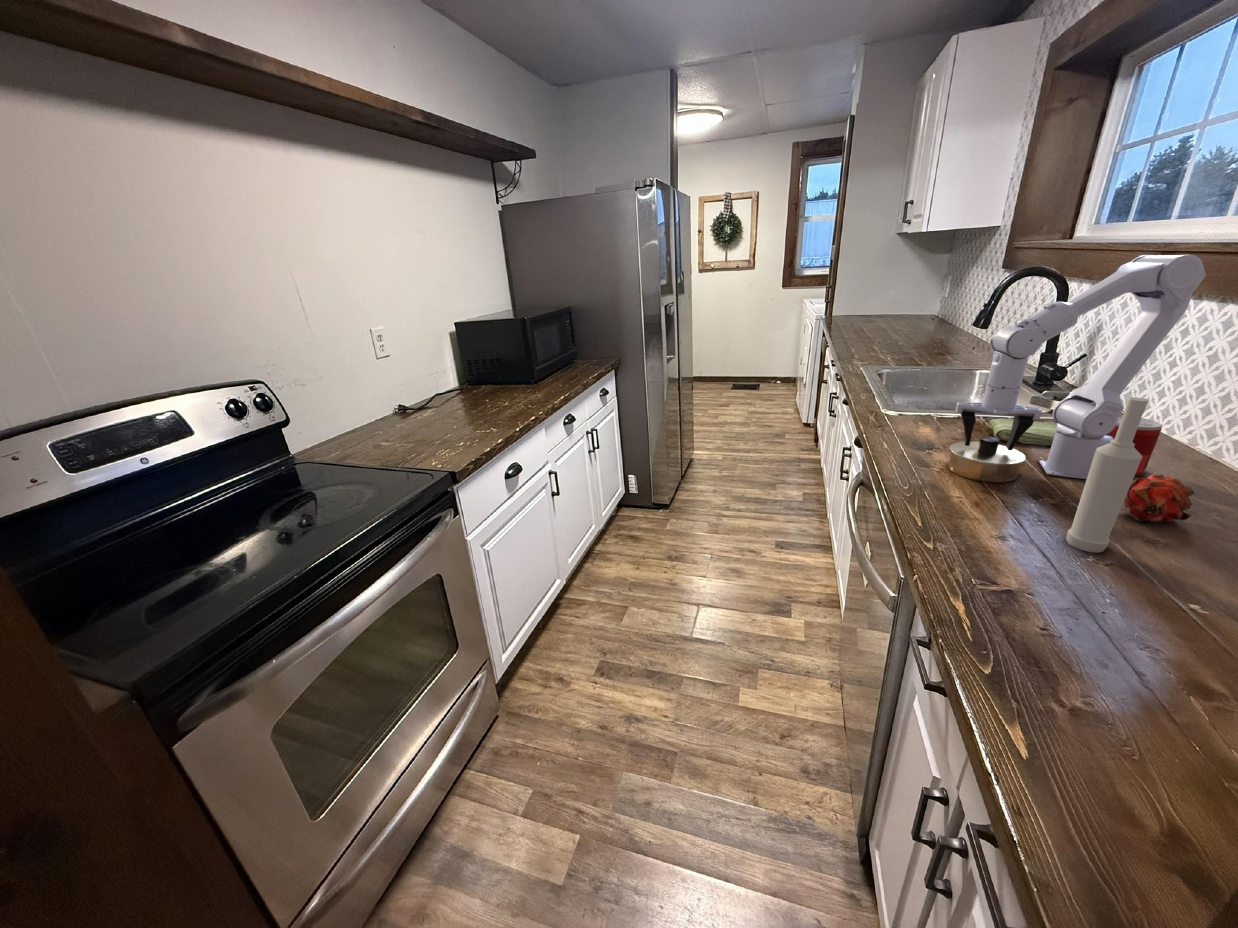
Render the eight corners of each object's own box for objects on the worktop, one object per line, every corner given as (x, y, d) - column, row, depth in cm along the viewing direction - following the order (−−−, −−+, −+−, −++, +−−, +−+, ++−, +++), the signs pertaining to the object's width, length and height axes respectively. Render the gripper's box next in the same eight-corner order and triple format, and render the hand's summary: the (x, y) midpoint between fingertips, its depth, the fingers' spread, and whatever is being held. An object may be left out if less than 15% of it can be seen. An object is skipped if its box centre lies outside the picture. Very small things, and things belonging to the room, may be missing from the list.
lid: (1017, 450, 112) (1022, 432, 111) (1030, 472, 101) (1036, 453, 99) (946, 443, 118) (950, 426, 117) (951, 463, 107) (955, 445, 106)
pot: (1011, 464, 113) (1015, 448, 112) (1022, 486, 103) (1027, 468, 102) (946, 457, 119) (949, 441, 117) (950, 477, 109) (954, 460, 107)
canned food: (1153, 477, 104) (1173, 427, 100) (1108, 475, 106) (1126, 427, 102) (1127, 463, 111) (1144, 416, 107) (1085, 462, 113) (1101, 415, 109)
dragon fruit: (1156, 513, 94) (1144, 545, 87) (1114, 480, 96) (1100, 509, 90) (1210, 491, 87) (1201, 523, 81) (1164, 456, 89) (1152, 485, 83)
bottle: (1096, 539, 84) (1150, 395, 74) (1113, 555, 79) (1172, 404, 70) (1059, 535, 86) (1107, 394, 76) (1073, 550, 81) (1126, 403, 72)
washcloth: (1083, 450, 119) (1087, 437, 118) (993, 441, 127) (996, 429, 126) (1068, 433, 130) (1072, 421, 129) (986, 426, 138) (989, 415, 136)
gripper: (964, 387, 103) (950, 448, 109) (1052, 393, 97) (1033, 457, 102) (960, 380, 109) (947, 438, 114) (1043, 385, 103) (1025, 446, 108)
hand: (987, 446), depth 109 cm, fingers open, 7 cm apart
